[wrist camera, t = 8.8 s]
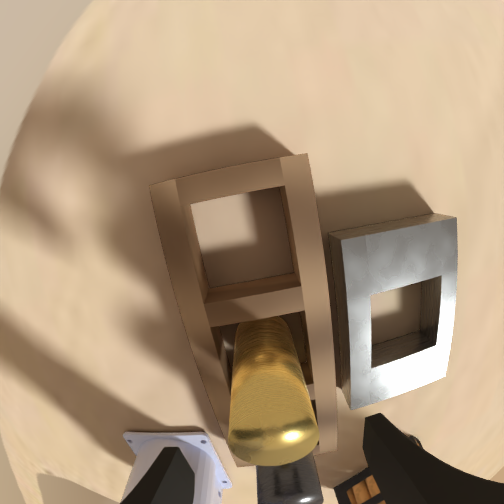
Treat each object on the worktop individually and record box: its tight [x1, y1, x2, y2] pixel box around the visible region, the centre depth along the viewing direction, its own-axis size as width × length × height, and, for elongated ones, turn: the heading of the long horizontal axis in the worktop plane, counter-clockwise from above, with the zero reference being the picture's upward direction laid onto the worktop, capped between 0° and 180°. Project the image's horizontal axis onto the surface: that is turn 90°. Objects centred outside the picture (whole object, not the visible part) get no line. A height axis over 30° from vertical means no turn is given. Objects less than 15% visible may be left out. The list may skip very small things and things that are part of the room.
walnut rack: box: [149, 153, 337, 467], centre depth 17 cm, size 21×8×2 cm, turn 11°
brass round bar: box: [228, 316, 319, 466], centre depth 14 cm, size 4×4×9 cm
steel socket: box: [328, 213, 458, 410], centre depth 17 cm, size 12×8×2 cm, turn 11°
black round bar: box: [256, 451, 323, 504], centre depth 15 cm, size 4×4×9 cm
